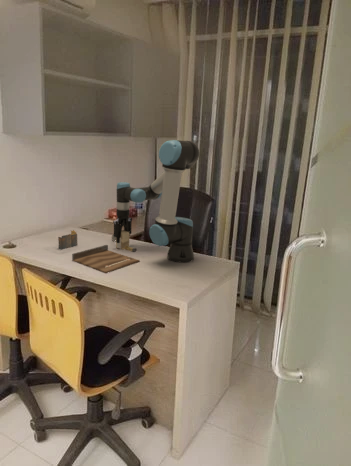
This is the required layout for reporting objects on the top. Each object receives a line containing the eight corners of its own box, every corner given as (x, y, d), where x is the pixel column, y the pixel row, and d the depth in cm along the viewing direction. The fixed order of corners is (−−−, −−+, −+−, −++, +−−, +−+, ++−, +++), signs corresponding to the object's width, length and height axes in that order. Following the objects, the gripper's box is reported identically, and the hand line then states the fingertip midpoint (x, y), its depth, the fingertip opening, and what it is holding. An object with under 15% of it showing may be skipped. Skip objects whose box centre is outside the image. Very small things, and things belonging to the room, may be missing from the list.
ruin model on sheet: (74, 245, 220) (73, 229, 218) (77, 246, 218) (77, 230, 216) (58, 249, 211) (57, 233, 209) (61, 250, 209) (61, 234, 207)
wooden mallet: (137, 250, 214) (138, 234, 212) (131, 252, 211) (132, 235, 208) (122, 245, 222) (122, 230, 219) (116, 247, 218) (116, 231, 216)
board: (139, 261, 196) (139, 255, 195) (106, 273, 177) (106, 266, 176) (106, 251, 211) (106, 244, 210) (72, 260, 192) (72, 253, 191)
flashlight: (122, 235, 245) (123, 228, 243) (130, 237, 243) (130, 229, 242) (111, 241, 231) (111, 233, 229) (119, 242, 229) (119, 234, 228)
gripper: (129, 206, 221) (128, 242, 227) (107, 209, 207) (106, 248, 213) (138, 208, 217) (137, 245, 223) (116, 212, 203) (115, 251, 209)
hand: (122, 246), depth 218 cm, fingers closed on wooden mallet, 5 cm apart
